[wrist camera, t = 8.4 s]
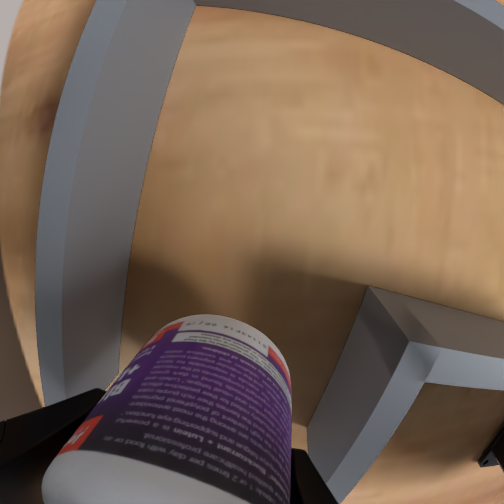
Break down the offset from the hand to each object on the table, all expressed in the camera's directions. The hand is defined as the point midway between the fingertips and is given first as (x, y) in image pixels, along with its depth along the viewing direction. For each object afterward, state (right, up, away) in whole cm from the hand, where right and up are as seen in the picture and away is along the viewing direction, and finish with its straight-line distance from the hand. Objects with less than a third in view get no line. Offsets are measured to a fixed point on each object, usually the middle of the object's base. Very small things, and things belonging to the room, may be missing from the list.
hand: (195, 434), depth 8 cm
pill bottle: (0, +1, +3) cm, 3 cm away
